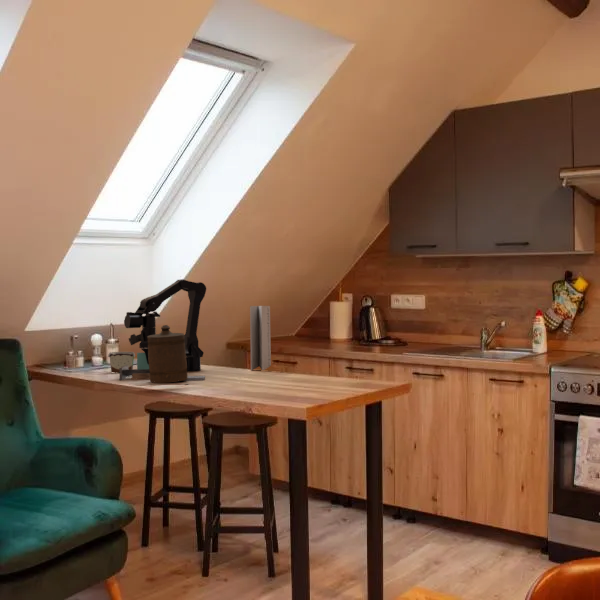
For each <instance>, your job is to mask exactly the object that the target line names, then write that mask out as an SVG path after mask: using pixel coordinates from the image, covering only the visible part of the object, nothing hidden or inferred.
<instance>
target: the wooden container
mask: <svg viewBox="0 0 600 600" xmlns="http://www.w3.org/2000/svg"><path fill="white" fill-rule="evenodd" d="M160 329H161V331H160V333H156V334H155V335H150V336H148V356H149V371H150V379H149V380H150V381H149V382H151V383H155V384H167V383H175V382H176V383H179V382H184V381H183V380H186V379H187V378H188V376H189V375H188V371H187V361H186V351H185V337H184V335H185V333H184V332H183V333H182V332H172V331H170V329H171V327H170V326H169V325H168V324H163V325H162V326H161V327H160Z"/></svg>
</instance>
